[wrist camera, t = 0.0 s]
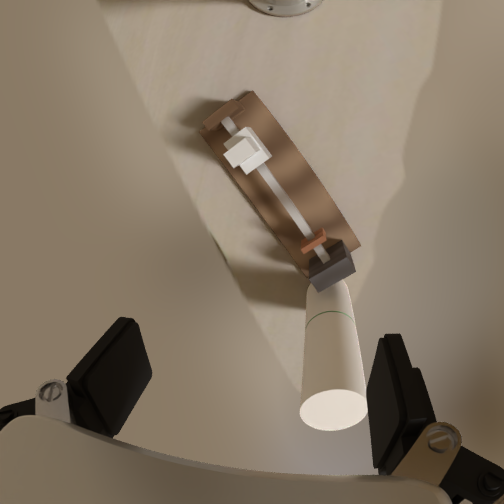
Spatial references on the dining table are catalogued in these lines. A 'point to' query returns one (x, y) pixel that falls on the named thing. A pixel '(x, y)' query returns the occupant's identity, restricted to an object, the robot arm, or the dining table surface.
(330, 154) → the dining table surface
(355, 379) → the cylindrical container
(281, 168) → the rail
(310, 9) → the robot arm
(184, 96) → the dining table surface
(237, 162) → the sleeve
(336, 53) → the dining table surface
